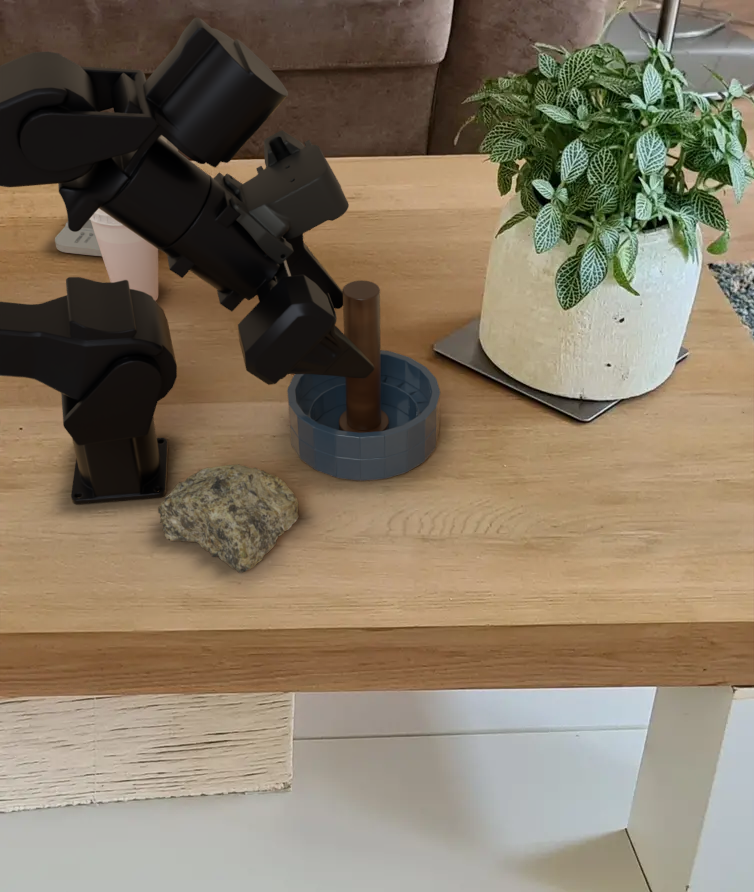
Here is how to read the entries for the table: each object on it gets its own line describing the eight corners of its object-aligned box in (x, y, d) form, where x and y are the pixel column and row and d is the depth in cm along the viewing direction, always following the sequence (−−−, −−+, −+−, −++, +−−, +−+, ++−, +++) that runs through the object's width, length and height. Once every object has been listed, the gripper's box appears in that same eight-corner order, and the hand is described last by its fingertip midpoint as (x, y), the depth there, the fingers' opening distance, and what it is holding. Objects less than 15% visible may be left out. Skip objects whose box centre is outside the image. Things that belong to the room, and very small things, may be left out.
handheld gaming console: (103, 191, 120) (88, 97, 114) (189, 200, 120) (178, 105, 113) (50, 252, 110) (30, 153, 104) (143, 262, 109) (128, 162, 103)
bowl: (448, 479, 86) (450, 430, 83) (295, 491, 84) (292, 442, 81) (426, 390, 94) (427, 344, 91) (287, 400, 93) (283, 353, 90)
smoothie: (182, 281, 107) (163, 136, 98) (161, 318, 102) (140, 169, 93) (113, 276, 107) (88, 131, 98) (90, 313, 102) (61, 163, 93)
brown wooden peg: (358, 454, 87) (354, 309, 79) (329, 429, 89) (323, 286, 81) (399, 436, 89) (399, 292, 81) (370, 412, 91) (367, 270, 83)
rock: (227, 481, 85) (221, 431, 82) (312, 522, 82) (310, 472, 79) (157, 536, 80) (149, 485, 77) (245, 582, 77) (240, 531, 74)
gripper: (290, 183, 65) (472, 328, 74) (245, 63, 79) (403, 198, 88) (163, 321, 68) (353, 443, 77) (142, 182, 82) (305, 300, 91)
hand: (356, 336), depth 83 cm, fingers open, 9 cm apart
